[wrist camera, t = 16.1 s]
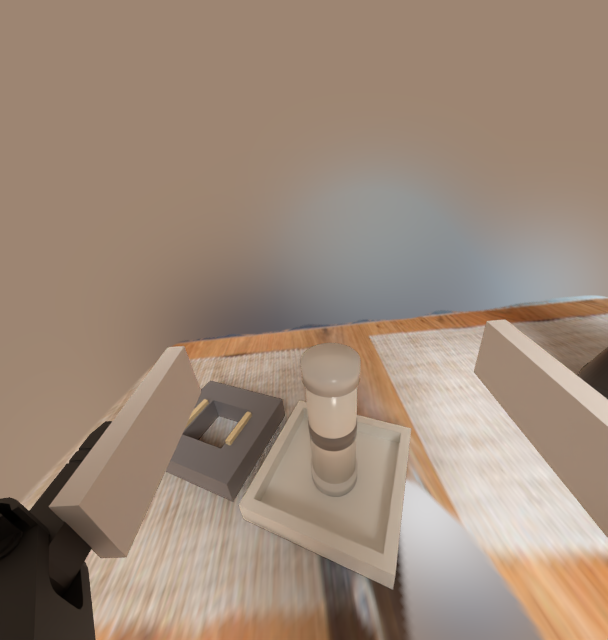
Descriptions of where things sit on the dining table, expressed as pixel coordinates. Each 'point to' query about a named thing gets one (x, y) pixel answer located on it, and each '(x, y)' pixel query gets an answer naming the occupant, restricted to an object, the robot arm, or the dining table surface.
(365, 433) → the parts tray
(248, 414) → the fuse socket
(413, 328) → the dining table surface
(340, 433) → the cylinder
